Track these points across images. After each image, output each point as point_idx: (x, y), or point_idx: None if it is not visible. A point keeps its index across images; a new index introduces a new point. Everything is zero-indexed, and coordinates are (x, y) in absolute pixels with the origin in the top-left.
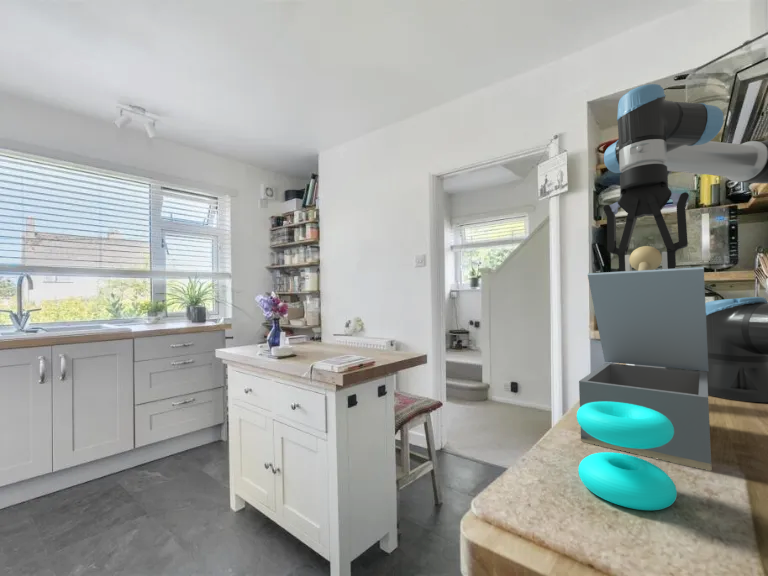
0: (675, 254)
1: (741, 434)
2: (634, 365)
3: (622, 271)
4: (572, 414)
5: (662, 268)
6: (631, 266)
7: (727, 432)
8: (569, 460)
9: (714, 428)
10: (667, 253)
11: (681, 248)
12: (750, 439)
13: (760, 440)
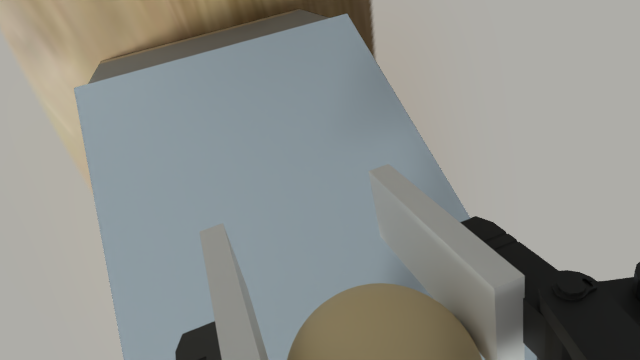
0: (552, 271)
1: (345, 8)
2: None
3: (196, 338)
4: (79, 169)
5: (430, 294)
6: (252, 325)
7: (327, 16)
8: None
9: (306, 7)
10: (518, 332)
11: (622, 285)
12: (359, 30)
13: (371, 22)
